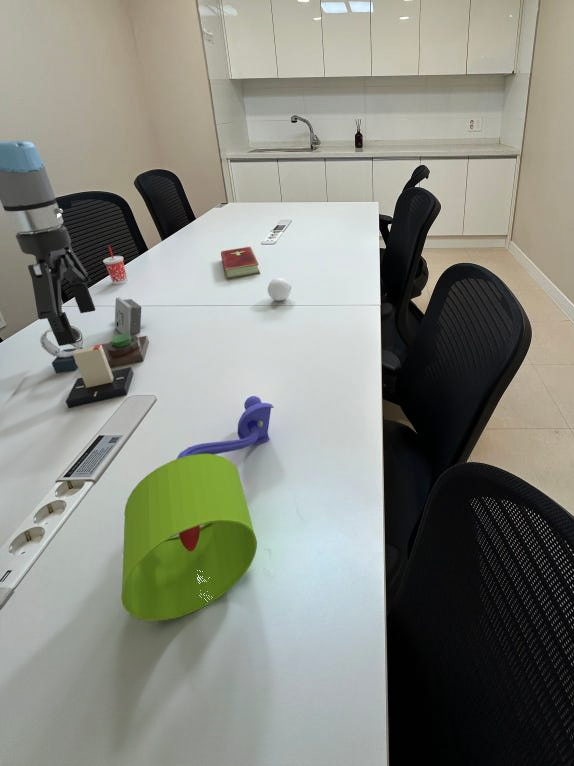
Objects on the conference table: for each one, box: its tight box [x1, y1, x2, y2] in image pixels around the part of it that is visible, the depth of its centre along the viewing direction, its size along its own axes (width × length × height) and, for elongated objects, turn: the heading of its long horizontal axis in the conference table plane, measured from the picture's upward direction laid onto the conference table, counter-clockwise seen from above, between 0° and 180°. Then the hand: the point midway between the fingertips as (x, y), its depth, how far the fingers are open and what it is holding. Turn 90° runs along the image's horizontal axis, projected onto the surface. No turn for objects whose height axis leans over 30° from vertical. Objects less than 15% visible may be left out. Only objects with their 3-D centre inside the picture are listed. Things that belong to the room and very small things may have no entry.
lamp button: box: [111, 333, 132, 348], centre depth 98 cm, size 4×4×2 cm
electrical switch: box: [114, 296, 142, 335], centre depth 109 cm, size 9×5×9 cm, turn 49°
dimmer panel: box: [65, 366, 134, 409], centre depth 87 cm, size 11×9×2 cm
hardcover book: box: [220, 246, 261, 280], centre depth 151 cm, size 12×21×4 cm, turn 24°
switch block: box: [94, 334, 150, 369], centre depth 98 cm, size 12×9×4 cm
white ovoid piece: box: [267, 277, 292, 302], centre depth 125 cm, size 10×7×7 cm
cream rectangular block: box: [73, 344, 114, 388], centre depth 85 cm, size 5×2×9 cm, turn 110°
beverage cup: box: [102, 245, 128, 285], centre depth 139 cm, size 6×6×14 cm
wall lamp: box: [120, 395, 275, 622], centre depth 60 cm, size 15×23×30 cm
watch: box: [39, 325, 84, 374], centre depth 94 cm, size 6×8×11 cm
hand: (78, 326), depth 81 cm, fingers open, 13 cm apart
